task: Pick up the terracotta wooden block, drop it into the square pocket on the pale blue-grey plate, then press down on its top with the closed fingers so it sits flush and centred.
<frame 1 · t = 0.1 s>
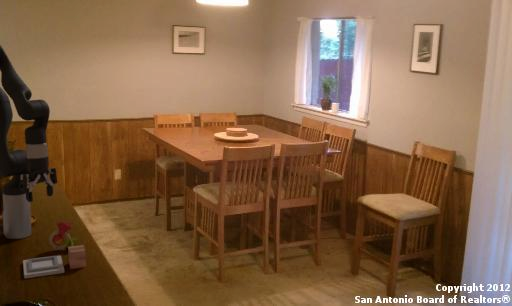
hand: (40, 198, 187), 17 cm above the table, tool pointing down, fingers open, 8 cm apart
bird rattle: (63, 250, 186), on the table
socket plate: (43, 268, 170), on the table
terracotta block: (77, 265, 174), on the table
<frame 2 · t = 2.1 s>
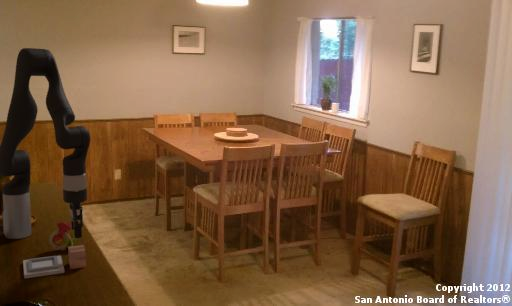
hand: (76, 233, 171), 11 cm above the table, tool pointing down, fingers open, 8 cm apart
nothing on the table moved.
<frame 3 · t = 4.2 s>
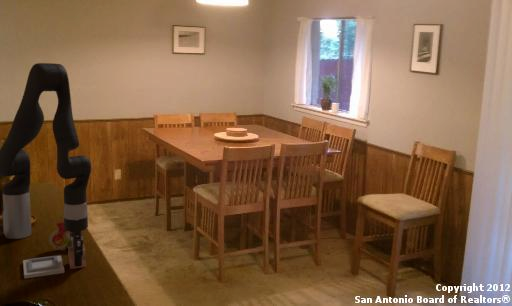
hand: (77, 262, 173), 1 cm above the table, tool pointing down, fingers closed on terracotta block, 5 cm apart
terracotta block: (77, 264, 174), on the table, touching gripper
everything else where it was.
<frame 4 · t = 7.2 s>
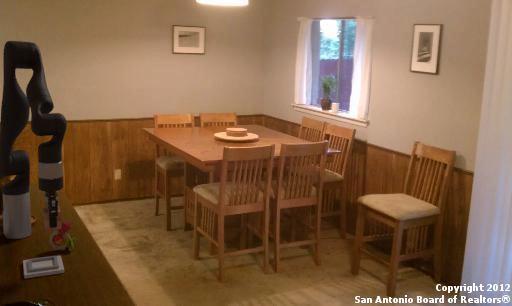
hand: (52, 224, 168), 15 cm above the table, tool pointing down, fingers closed on terracotta block, 5 cm apart
terracotta block: (52, 227, 169), point 14 cm above the table, touching gripper
everything else where it was.
when the fingers open (3 cm above the table, at t = 10.6 s): terracotta block drops 1 cm, resting on socket plate.
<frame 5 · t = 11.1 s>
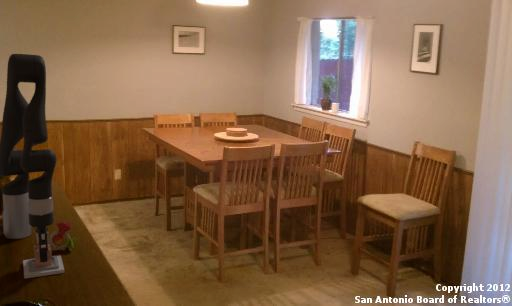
hand: (43, 256, 169), 4 cm above the table, tool pointing down, fingers open, 8 cm apart
terracotta block: (43, 264, 170), point 1 cm above the table, touching socket plate
everything else where it was.
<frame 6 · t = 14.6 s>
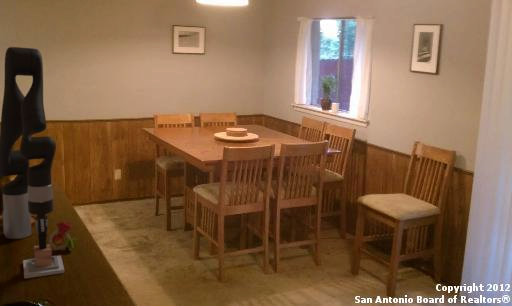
hand: (42, 247, 169), 7 cm above the table, tool pointing down, fingers closed
terracotta block: (43, 264, 170), point 1 cm above the table, touching gripper, socket plate
everything else where it was.
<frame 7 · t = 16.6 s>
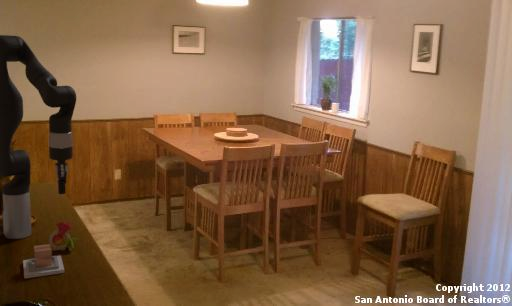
hand: (61, 193, 177), 22 cm above the table, tool pointing down, fingers closed
terracotta block: (43, 264, 170), point 1 cm above the table, touching socket plate
everything else where it was.
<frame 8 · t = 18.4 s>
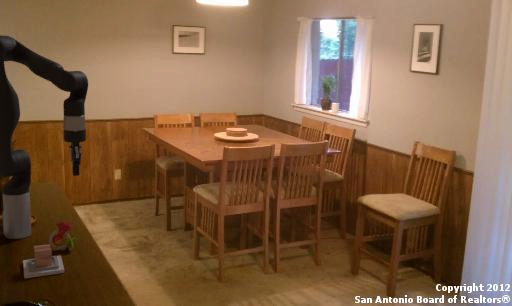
hand: (76, 175, 184), 27 cm above the table, tool pointing down, fingers closed
nothing on the table moved.
at the end: terracotta block 0.0 cm off-centre on the socket plate, point 1.2 cm above the socket plate's base; terracotta block tilted 0°; the gripper is holding nothing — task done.
